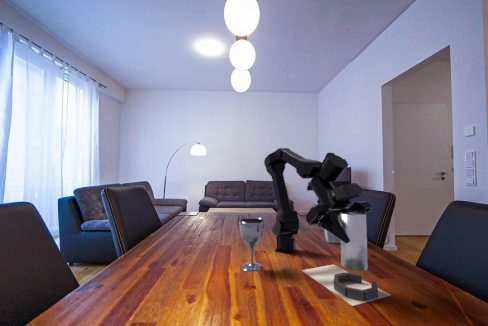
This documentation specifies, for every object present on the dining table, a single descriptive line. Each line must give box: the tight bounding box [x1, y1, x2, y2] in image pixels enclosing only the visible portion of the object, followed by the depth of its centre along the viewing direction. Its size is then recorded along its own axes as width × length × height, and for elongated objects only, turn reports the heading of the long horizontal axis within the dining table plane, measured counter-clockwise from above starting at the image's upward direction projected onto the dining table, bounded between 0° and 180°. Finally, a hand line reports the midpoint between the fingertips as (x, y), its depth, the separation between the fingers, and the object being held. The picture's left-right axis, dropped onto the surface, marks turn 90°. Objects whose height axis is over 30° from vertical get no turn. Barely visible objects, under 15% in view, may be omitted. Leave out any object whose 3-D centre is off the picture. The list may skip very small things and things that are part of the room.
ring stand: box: [301, 263, 391, 307], centre depth 60 cm, size 19×12×3 cm, turn 20°
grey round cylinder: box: [340, 212, 369, 272], centre depth 56 cm, size 6×6×13 cm
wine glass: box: [239, 217, 265, 273], centre depth 72 cm, size 8×8×15 cm
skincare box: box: [323, 216, 341, 244], centre depth 99 cm, size 8×7×16 cm
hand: (357, 241), depth 55 cm, fingers closed on grey round cylinder, 6 cm apart
